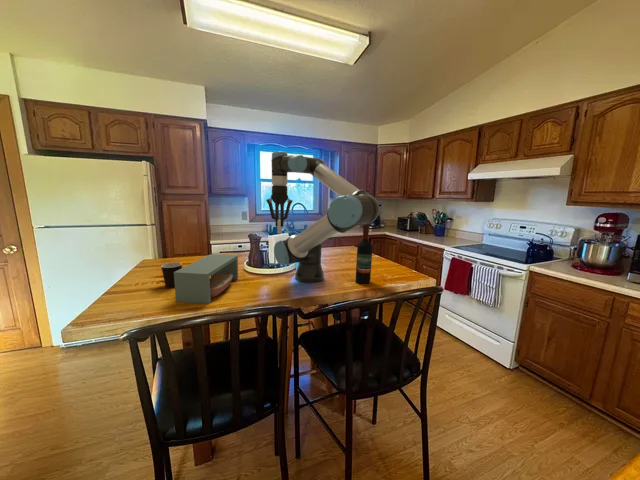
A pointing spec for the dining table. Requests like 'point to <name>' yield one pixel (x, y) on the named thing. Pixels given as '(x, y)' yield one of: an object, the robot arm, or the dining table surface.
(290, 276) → the dining table surface
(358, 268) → the wine bottle
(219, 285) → the brown bread loaf
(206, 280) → the stand
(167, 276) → the coffee mug
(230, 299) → the dining table surface
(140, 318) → the dining table surface
